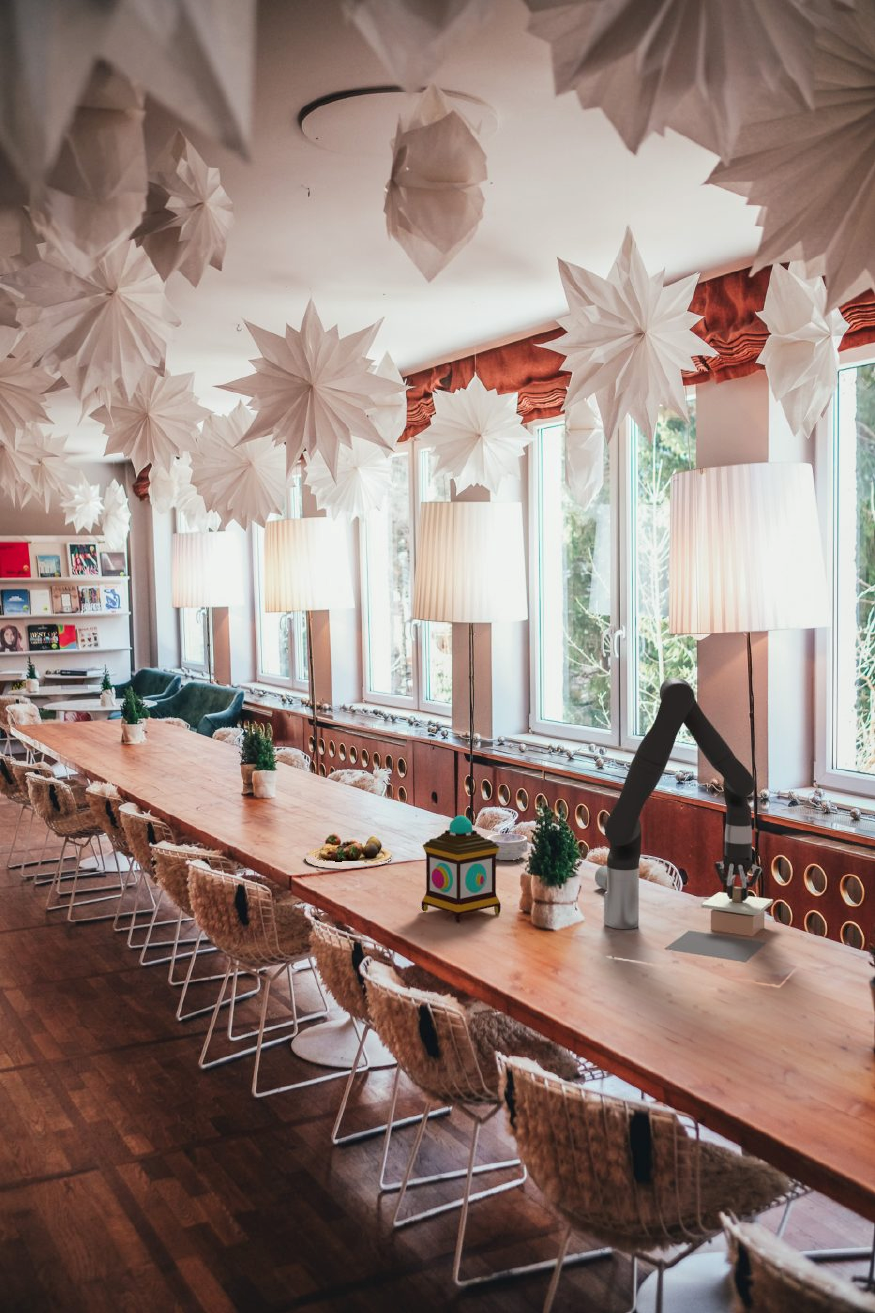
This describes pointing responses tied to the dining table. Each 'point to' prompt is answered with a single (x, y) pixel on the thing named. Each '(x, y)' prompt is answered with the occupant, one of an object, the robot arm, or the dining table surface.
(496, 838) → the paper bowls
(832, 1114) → the dining table surface
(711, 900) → the cream lid
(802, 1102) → the dining table surface
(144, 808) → the dining table surface
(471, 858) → the decorative lantern
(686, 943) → the rubber mat
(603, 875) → the ceramic mug
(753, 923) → the terracotta dish
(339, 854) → the wooden plate with food
